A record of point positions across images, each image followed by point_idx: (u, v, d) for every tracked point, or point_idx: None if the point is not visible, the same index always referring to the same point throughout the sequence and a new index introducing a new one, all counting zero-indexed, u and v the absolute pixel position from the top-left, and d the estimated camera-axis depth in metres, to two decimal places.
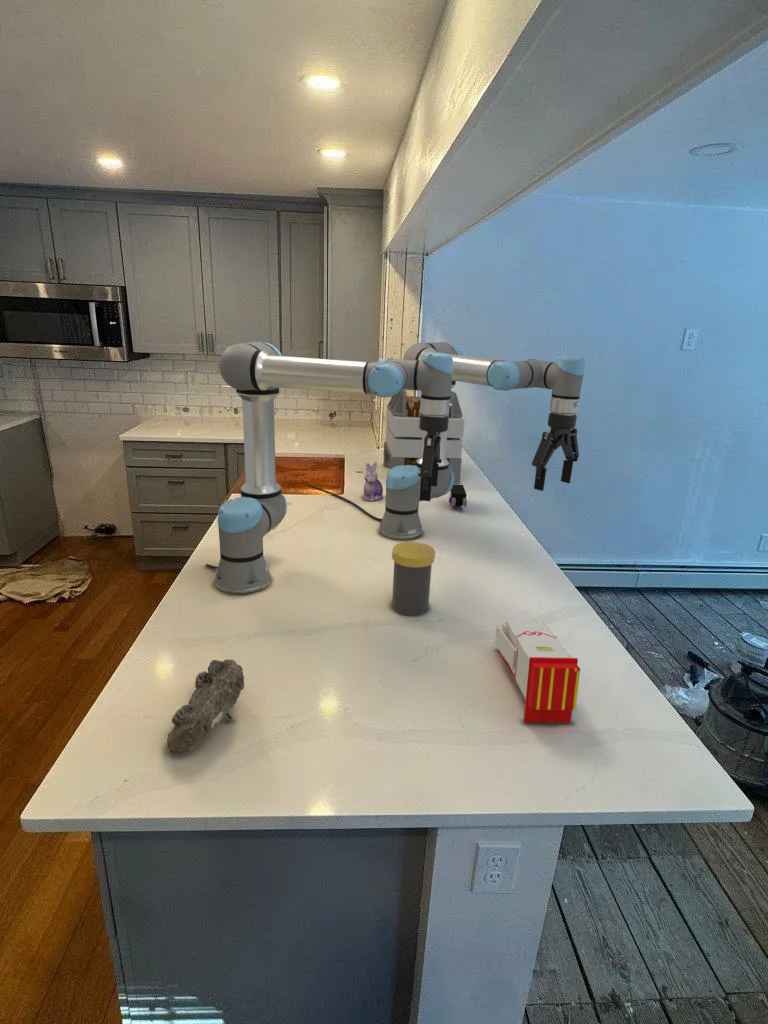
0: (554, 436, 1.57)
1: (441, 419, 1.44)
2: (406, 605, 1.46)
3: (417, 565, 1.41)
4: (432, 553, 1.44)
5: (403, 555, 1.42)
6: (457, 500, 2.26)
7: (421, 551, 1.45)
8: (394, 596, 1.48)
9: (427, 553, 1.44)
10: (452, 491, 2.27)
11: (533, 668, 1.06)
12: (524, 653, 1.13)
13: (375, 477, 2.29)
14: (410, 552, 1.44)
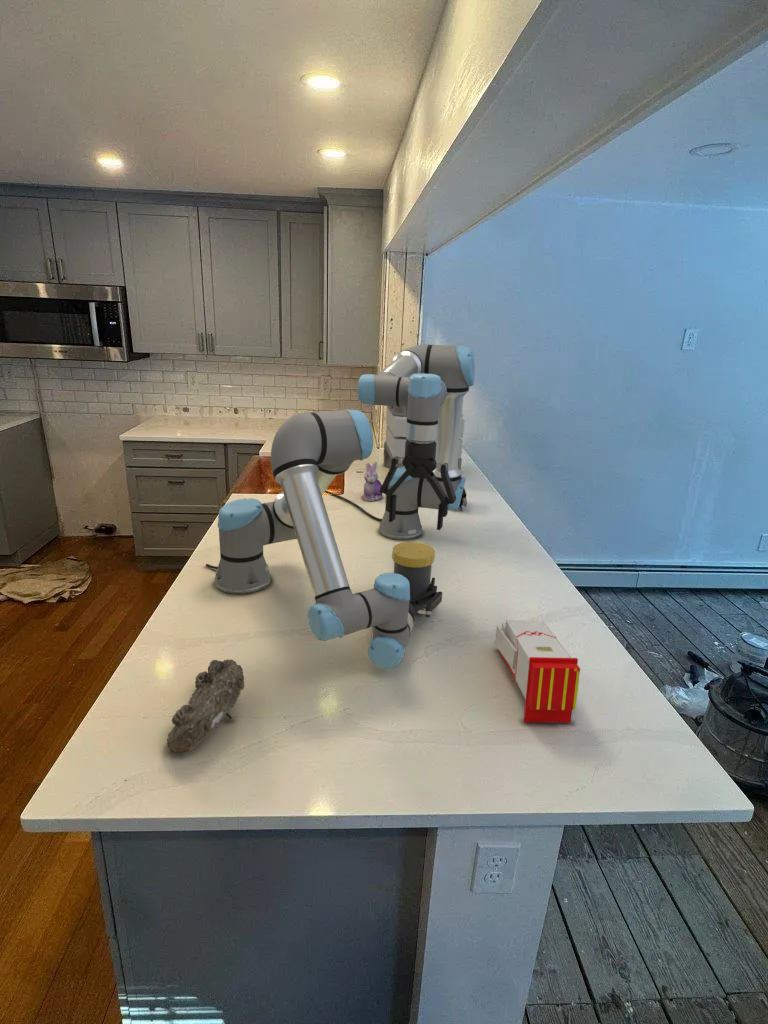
0: None
1: None
2: None
3: (417, 565, 1.41)
4: (432, 553, 1.44)
5: (403, 555, 1.42)
6: None
7: (421, 551, 1.45)
8: None
9: (427, 553, 1.44)
10: None
11: (533, 668, 1.06)
12: (524, 653, 1.13)
13: (375, 477, 2.29)
14: (410, 552, 1.44)
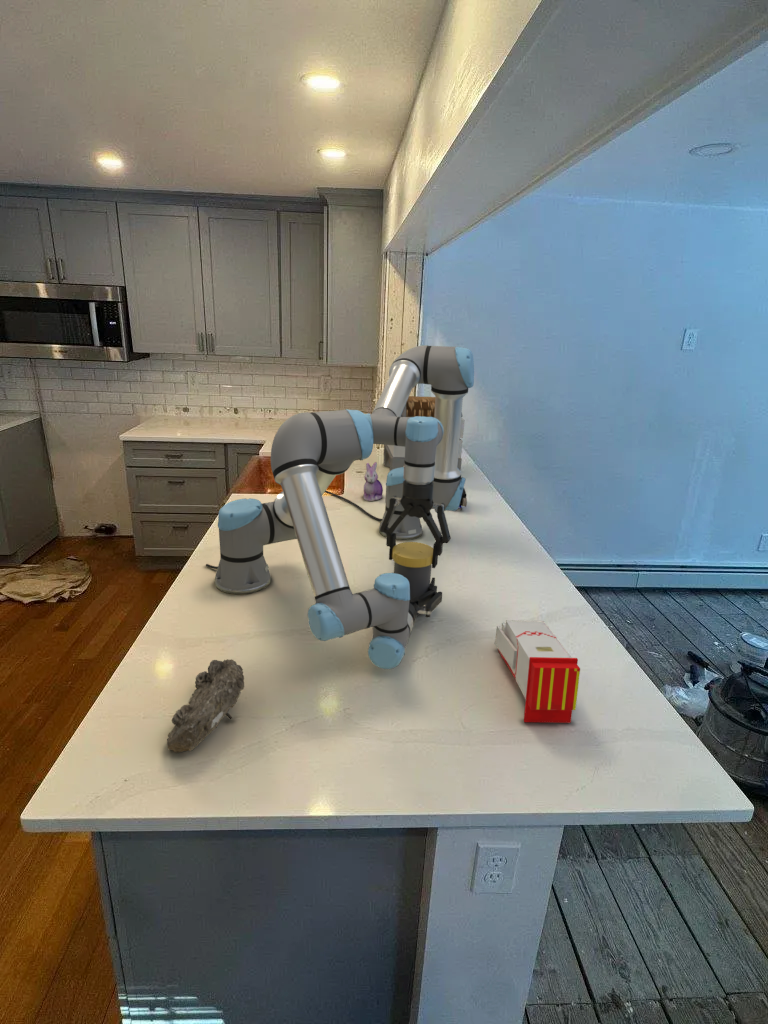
0: None
1: None
2: None
3: (417, 565, 1.41)
4: (432, 553, 1.44)
5: (403, 555, 1.42)
6: None
7: (421, 551, 1.45)
8: None
9: (427, 553, 1.44)
10: None
11: (533, 668, 1.06)
12: (524, 653, 1.13)
13: (375, 477, 2.29)
14: (410, 552, 1.44)
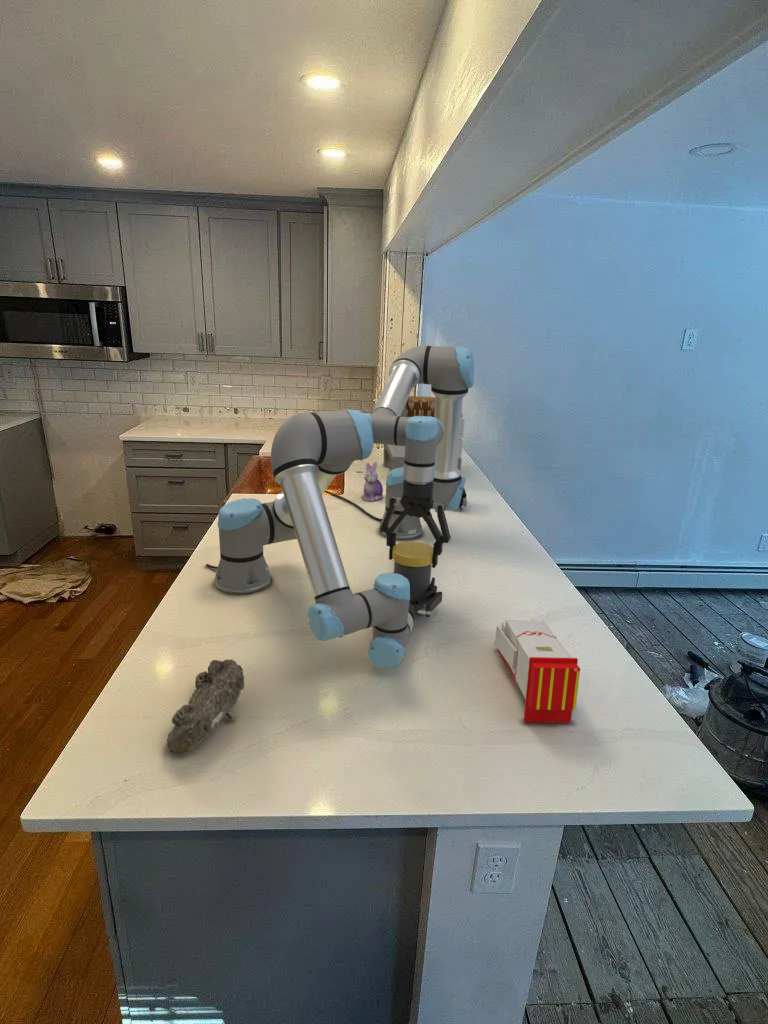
0: None
1: None
2: None
3: None
4: (409, 542, 1.50)
5: (431, 551, 1.45)
6: None
7: (412, 546, 1.48)
8: None
9: (412, 543, 1.49)
10: None
11: (533, 668, 1.06)
12: (524, 653, 1.13)
13: (375, 477, 2.29)
14: (421, 549, 1.46)
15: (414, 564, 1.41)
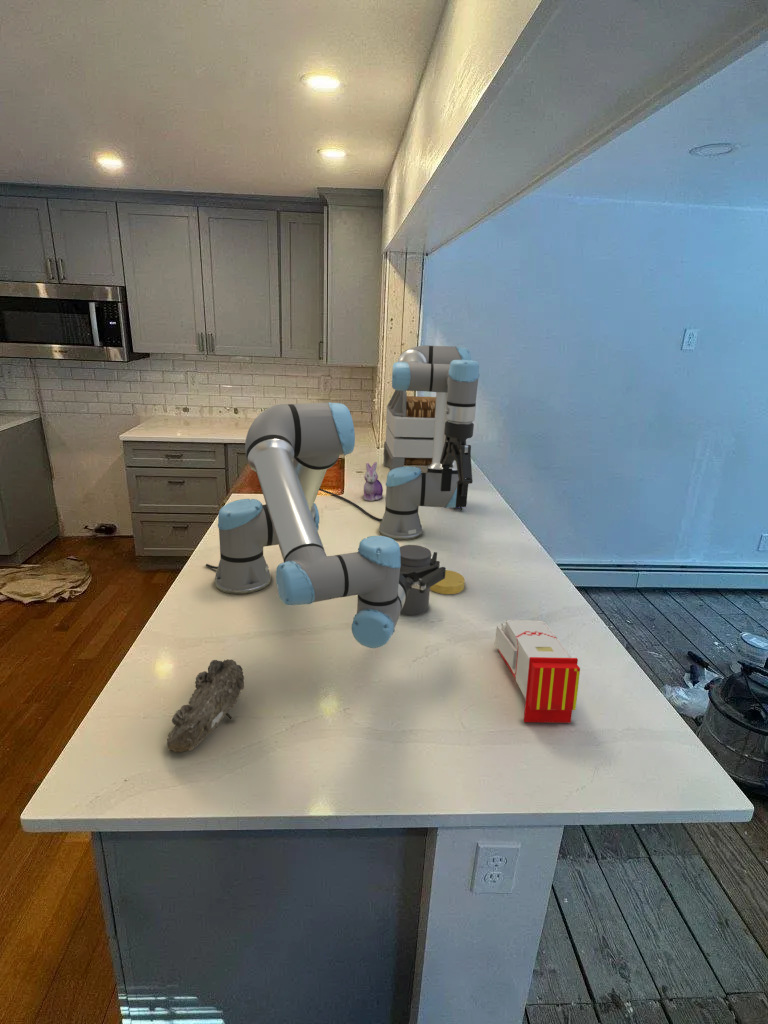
0: None
1: None
2: (406, 605, 1.46)
3: None
4: None
5: (461, 579, 1.63)
6: None
7: None
8: None
9: None
10: None
11: (533, 668, 1.06)
12: (524, 653, 1.13)
13: (375, 477, 2.29)
14: (452, 578, 1.63)
15: (447, 592, 1.59)
